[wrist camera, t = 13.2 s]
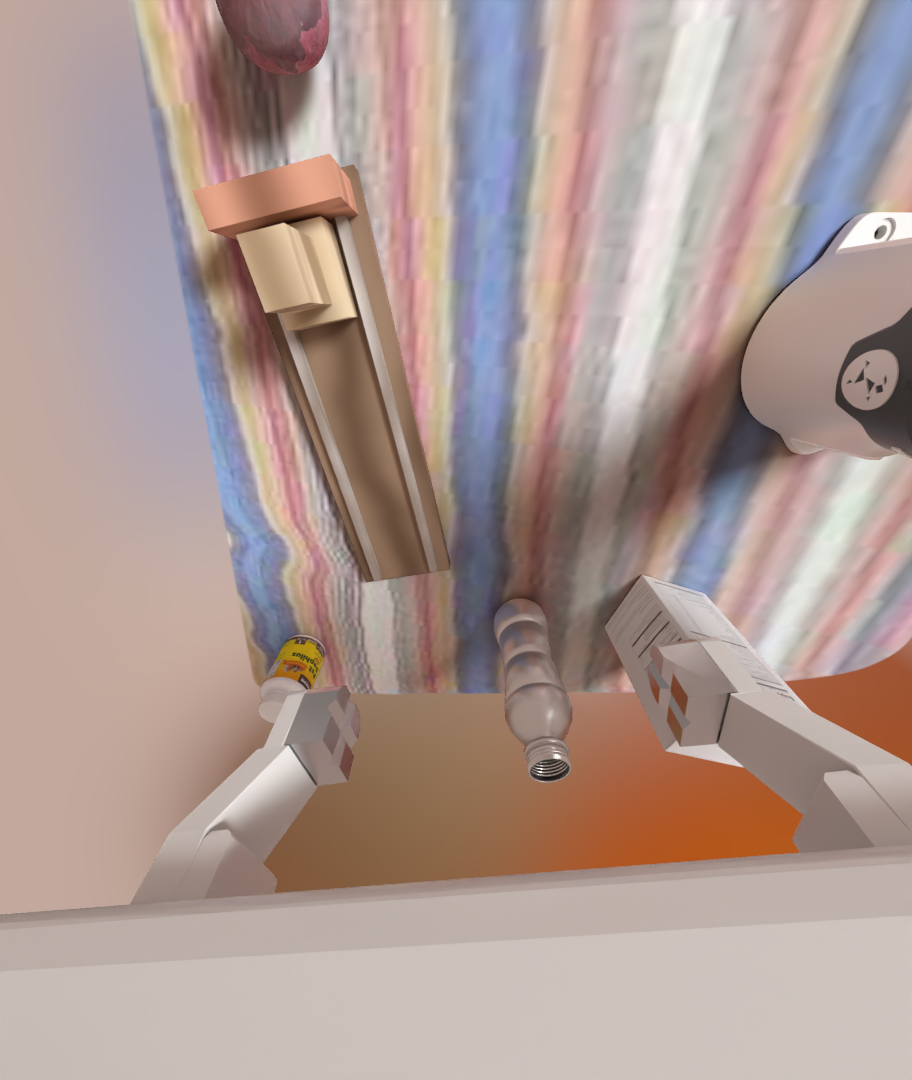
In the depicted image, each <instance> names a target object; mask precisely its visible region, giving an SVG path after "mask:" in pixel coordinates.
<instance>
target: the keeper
mask: <svg viewBox="0 0 912 1080" xmlns="http://www.w3.org/2000/svg"><path fill="white" fill-rule="evenodd" d="M236 236H237V239H238V242H239V244H240V247H241V250H242V252H243V255H244V258H245V260H246V263H247V266H248V268H249V271H250V274H251V276H252V279H253V282H254V284H255V287H256V290H257V292H258V295H259V298H260V300H261V303H262V306H263V308H264V311H265V313H281V316H282V319H283V322H284V325H285V327H286V330H287V331H294V330H303V329H307V328H311V327H316V326H320V325H325V324H329V323H334V322H338V321H343V320H347V319H352V318H356V317H358V314H357V311H356V307H355V303H354V300H353V296H352V292H351V289H350V285H349V281H348V278H347V274H346V270H345V267H344V263H343V259H342V256H341V252H340V248H339V245H338V241H337V237H336V234H335V230H334V226H333V225H332V224H331V223H329V222H328V221H327V220H325V219H324V218H322V217H321V216H320V217H316V218H312V219H308V220H304V221H300V222H296V223H292V224H288V225H287V224H285V223H281V224H277V225H274V226H270V227H266V228H262V229H258V230H254V231H250V232H246V233H242V234H238V235H236Z"/></svg>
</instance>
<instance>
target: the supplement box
mask: <svg viewBox="0 0 912 1080" xmlns="http://www.w3.org/2000/svg"><path fill="white" fill-rule="evenodd" d="M604 628H605V630H606V632H607V634H608V636H609V638H610V640H611V642H612V644H613V646H614V648H615V650H616V652H617V654H618V656H619V658H620V660H621V663H622V665H623V667H624V669H625V671H626V673H627V675H628V677H629V679H630V681H631V683H632V685H633V687H634V689H635V691H636V693H637V695H638V697H639V699H640V701H641V703H642V705H643V708H644V709H645V712H646V714H647V716H648V718H649V720H650V722H651V724H652V726H653V728H654V730H655V732H656V734H657V736H658V738H659V740H660V743H661V745H662V747H663V749H664V750H665V751H668V752H673V753H678V754H683V755H688V756H692V757H697V758H701V759H706V760H711V761H715V762H720V763H725V764H730V765H734V766H739V767H743V766H742V765H741V764H740V763H738V762H737V761H736V760H735V759H733V758H732V757H731V756H730V755H728V754H727V753H726V752H725V751H724V750H722V749H721V748H720V747H719V746H718V744H711V745H698V746H685V747H680V746H679V744H678V742H677V740H676V738H675V736H674V734H673V732H672V731H671V729H670V727H669V725H668V723H667V714H668V711H666V710H665V709H663V708H662V707H660V706H659V705H658V704H657V702H656V700H655V698H654V695H653V693H652V690H651V687H650V682H649V667H650V666H651V665H652V664H653V663H654V662H653V660H652V658H651V657H650V650H651V647H652V645H655V644H662V643H669V642H676V641H683V640H690V639H692V640H694V639H699V638H707V637H714V636H716V637H718V638H719V639H721V640H722V642H723V643H724V644H725V645H726V647H727V648H728V649H729V650H730V651H731V653H732V654H733V655H734V656H735V657H736V659H737V660H738V661H739V662H740V663H741V665H742V666H743V667H744V668H745V669H746V671H747V672H748V673H749V674H750V675H751V677H752V678H753V679H754V680H755V681H756V683H757V684H758V685H759V686H760V688H761V689H762V690H768V689H770V690H772V691H773V692H775V693H777V694H779V695H781V696H783V697H785V698H787V699H789V700H790V701H792V702H794V703H796V704H798V705H800V706H802V707H804V708H805V709H807V710H809V709H808V708H807V707H806V705H805V704H804V703H803V702H802V701H801V700H800V699H799V698H798V697H797V695H795V693H794V692H793V691H792V690H791V689H790V688H789V687H788V686H787V685H786V683H785V682H784V681H783V680H782V679H781V678H780V677H779V676H778V675H777V673H776V672H775V671H774V670H773V669H772V668H771V667H770V666H769V665H768V664H767V663H766V661H765V660H764V659H763V658H762V657H761V656H760V655H759V654H758V653H757V652H756V651H755V650H754V649H753V648H752V646H751V645H750V644H749V643H748V642H747V640H746V639H745V638H744V637H743V636H742V635H741V634H740V632H739V631H738V630H737V629H736V628H735V627H734V626H733V625H732V624H731V623H730V621H729V620H728V619H727V618H726V617H725V616H724V615H723V614H722V613H721V612H720V610H719V609H718V608H717V607H716V606H715V605H714V604H713V603H712V602H711V601H710V599H709V598H708V597H707V596H706V595H705V594H704V593H701V592H698V591H695V590H692V589H688V588H685V587H682V586H678V585H675V584H671V583H668V582H665V581H661V580H658V579H655V578H651V577H648V576H645V575H641V576H640V578H639V579H638V580H637V582H636V583H635V585H634V586H633V587H632V589H631V590H630V592H629V593H628V594H627V596H626V597H625V599H624V600H623V601H622V603H621V604H620V606H619V607H618V609H617V610H616V611H615V613H614V614H613V615H612V617H611V618H610V620H609V621H608V622H607V624H606V625H605V627H604ZM809 711H810V710H809Z"/></svg>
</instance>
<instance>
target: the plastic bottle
mask: <svg viewBox="0 0 912 1080" xmlns="http://www.w3.org/2000/svg"><path fill="white" fill-rule="evenodd" d="M494 633H495V636H496V639H497V642H498V644H499V646H500V650H501V654H502V658H503V662H504V671H505V719H506V721H507V724H508V726H509V728H510V730H511V732H512V733H513V734H514V735H515V737H516V738H517V739H518V740H519V741H520V742H521V743H522V744H523V745H524V746H525V748H524V756H525V760H526V762H527V770H528V774H529V776H530V777H531V778H532V779H533V780H535V781H538V782H543V783H550V782H556V781H560V780H562V779H563V778H565V777H567V776H568V775H569V773H570V772H571V763H570V759H569V750H568V746H567V743H566V742H565V741H564V740H565V738H566V736H567V734H568V731H569V729H570V726H571V723H572V711H573V710H572V704H571V702H570V699H569V696H568V695H567V692H566V690H565V688H564V686H563V684H562V682H561V680H560V678H559V676H558V673H557V670H556V668H555V665H554V662H553V659H552V656H551V652H550V647H549V641H548V626H547V619H546V616H545V615H544V613H543V611H542V609H541V608H540V606H539V605H538V604H536V603H535V602H533V601H530V600H528V599H524V598H517V599H512V600H510V601H507V602H506V603H504V604H503V605H502V606H501V607H500V608H499V609H498V611H497V612H496V615H495V619H494Z"/></svg>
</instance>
